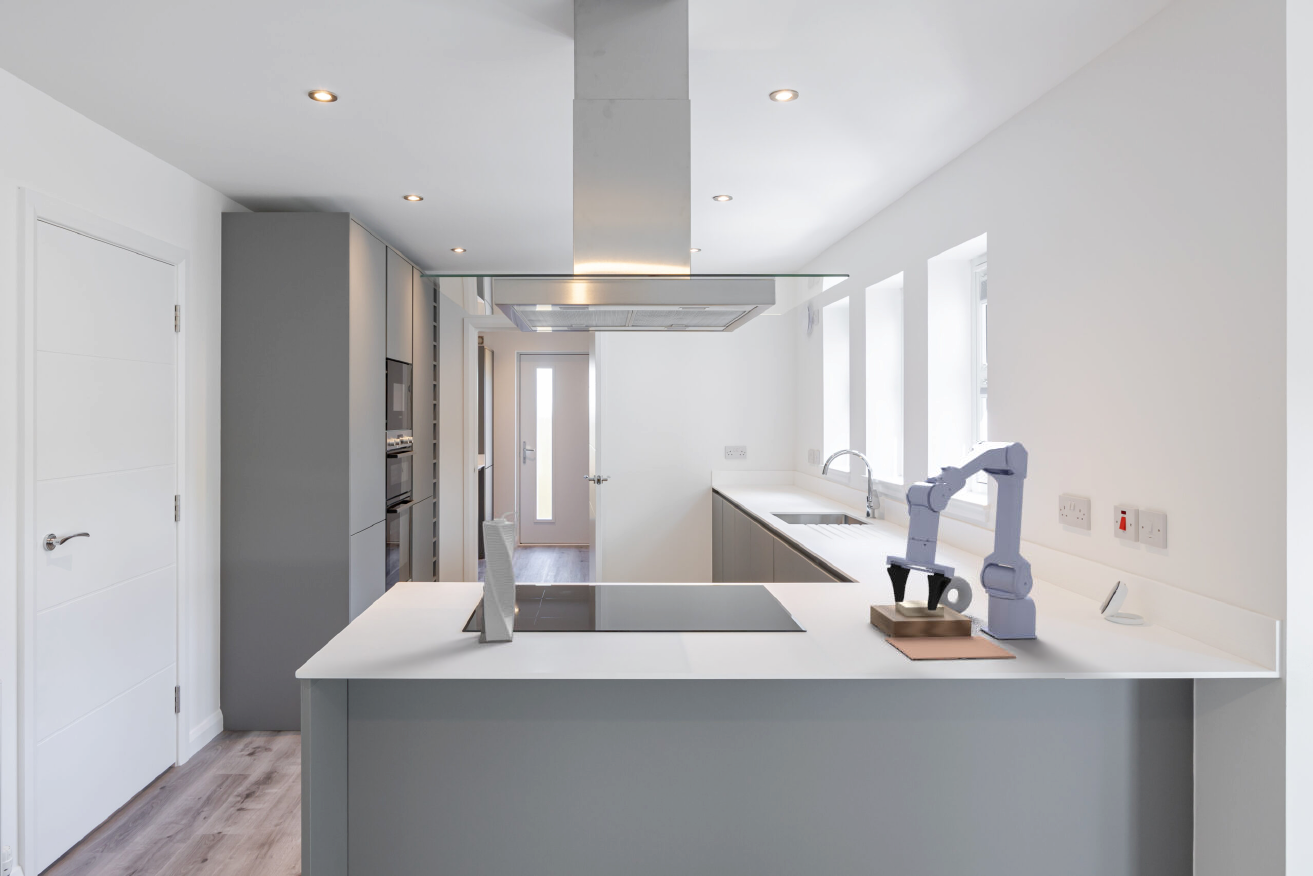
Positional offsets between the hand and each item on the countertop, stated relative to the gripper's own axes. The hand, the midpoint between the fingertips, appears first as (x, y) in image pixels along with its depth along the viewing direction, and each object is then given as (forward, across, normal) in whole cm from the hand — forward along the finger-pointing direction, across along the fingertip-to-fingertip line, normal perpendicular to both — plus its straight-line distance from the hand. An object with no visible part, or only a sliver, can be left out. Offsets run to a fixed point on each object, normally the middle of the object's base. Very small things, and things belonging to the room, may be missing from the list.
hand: (915, 606), depth 155 cm
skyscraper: (+20, -62, -60) cm, 89 cm away
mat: (+9, +2, +11) cm, 14 cm away
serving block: (+8, -10, +19) cm, 23 cm away
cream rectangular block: (+4, -10, +19) cm, 22 cm away
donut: (+6, -12, +37) cm, 40 cm away
